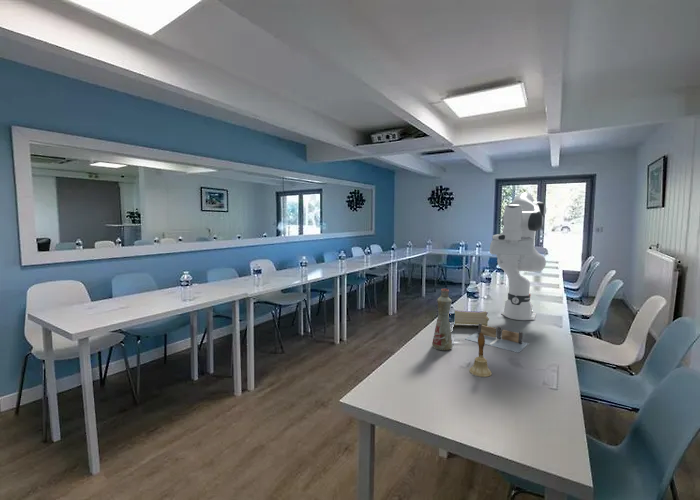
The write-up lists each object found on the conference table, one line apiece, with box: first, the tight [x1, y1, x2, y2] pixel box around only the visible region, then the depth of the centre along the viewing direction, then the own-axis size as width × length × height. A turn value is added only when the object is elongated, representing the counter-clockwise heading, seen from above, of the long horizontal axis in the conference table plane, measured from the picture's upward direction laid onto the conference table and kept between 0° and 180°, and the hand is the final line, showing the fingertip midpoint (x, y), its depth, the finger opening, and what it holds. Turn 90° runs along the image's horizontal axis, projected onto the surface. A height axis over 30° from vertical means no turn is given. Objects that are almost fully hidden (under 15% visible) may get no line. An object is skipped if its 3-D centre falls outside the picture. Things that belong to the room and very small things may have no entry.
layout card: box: [465, 331, 530, 354], centre depth 174 cm, size 15×25×1 cm, turn 48°
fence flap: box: [501, 329, 523, 344], centre depth 174 cm, size 9×2×5 cm, turn 48°
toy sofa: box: [454, 309, 490, 326], centre depth 197 cm, size 21×9×10 cm, turn 85°
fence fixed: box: [477, 323, 502, 339], centre depth 181 cm, size 2×11×6 cm, turn 49°
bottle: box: [431, 288, 453, 352], centre depth 164 cm, size 9×9×28 cm
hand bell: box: [468, 332, 492, 378], centre depth 140 cm, size 8×8×16 cm
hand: (510, 263), depth 183 cm, fingers open, 8 cm apart
